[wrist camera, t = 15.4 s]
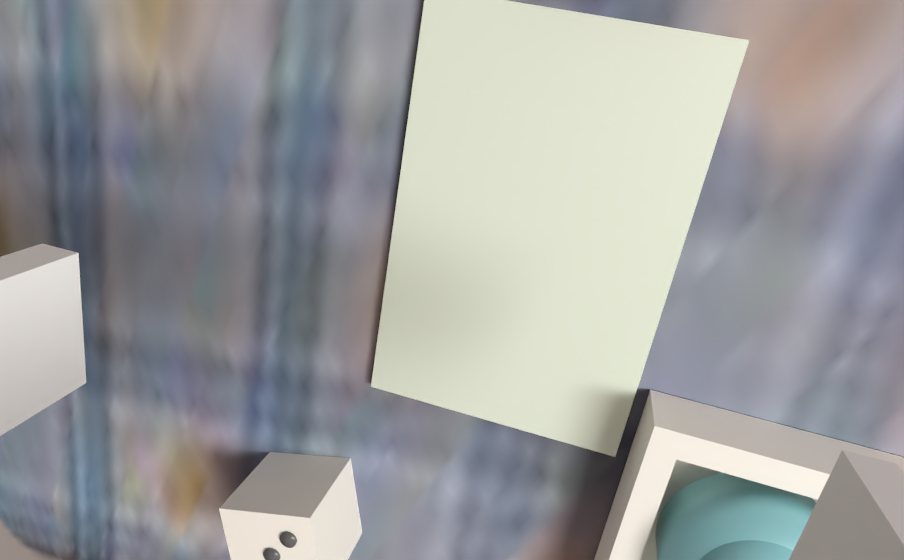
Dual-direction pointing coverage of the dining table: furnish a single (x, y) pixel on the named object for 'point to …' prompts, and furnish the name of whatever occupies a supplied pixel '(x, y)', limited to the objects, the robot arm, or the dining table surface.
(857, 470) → the robot arm
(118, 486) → the dining table surface
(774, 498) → the light blue round piece
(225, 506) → the die
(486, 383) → the pad
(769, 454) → the housing
